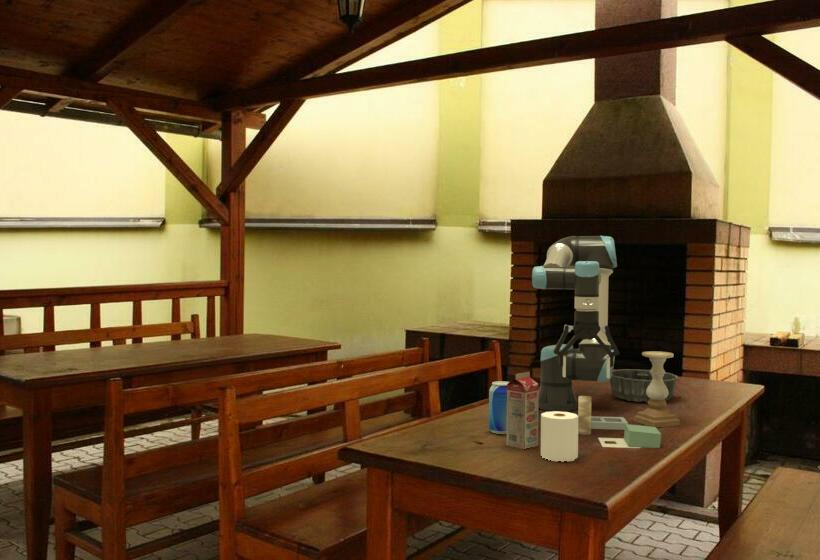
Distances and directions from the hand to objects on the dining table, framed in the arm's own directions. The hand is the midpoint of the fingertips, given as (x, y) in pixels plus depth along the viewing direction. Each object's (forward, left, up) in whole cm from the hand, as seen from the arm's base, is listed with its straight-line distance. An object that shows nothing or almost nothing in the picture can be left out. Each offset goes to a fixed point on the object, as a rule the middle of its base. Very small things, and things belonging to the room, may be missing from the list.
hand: (585, 377), depth 240 cm
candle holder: (+26, +19, -19) cm, 37 cm away
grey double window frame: (+7, +11, -18) cm, 22 cm away
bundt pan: (+29, +62, -19) cm, 71 cm away
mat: (+9, -11, -18) cm, 23 cm away
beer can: (-26, -1, -19) cm, 32 cm away
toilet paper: (-10, -28, -19) cm, 35 cm away
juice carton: (-20, -17, -19) cm, 32 cm away
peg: (0, 0, -18) cm, 18 cm away
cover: (+15, -11, -18) cm, 26 cm away
